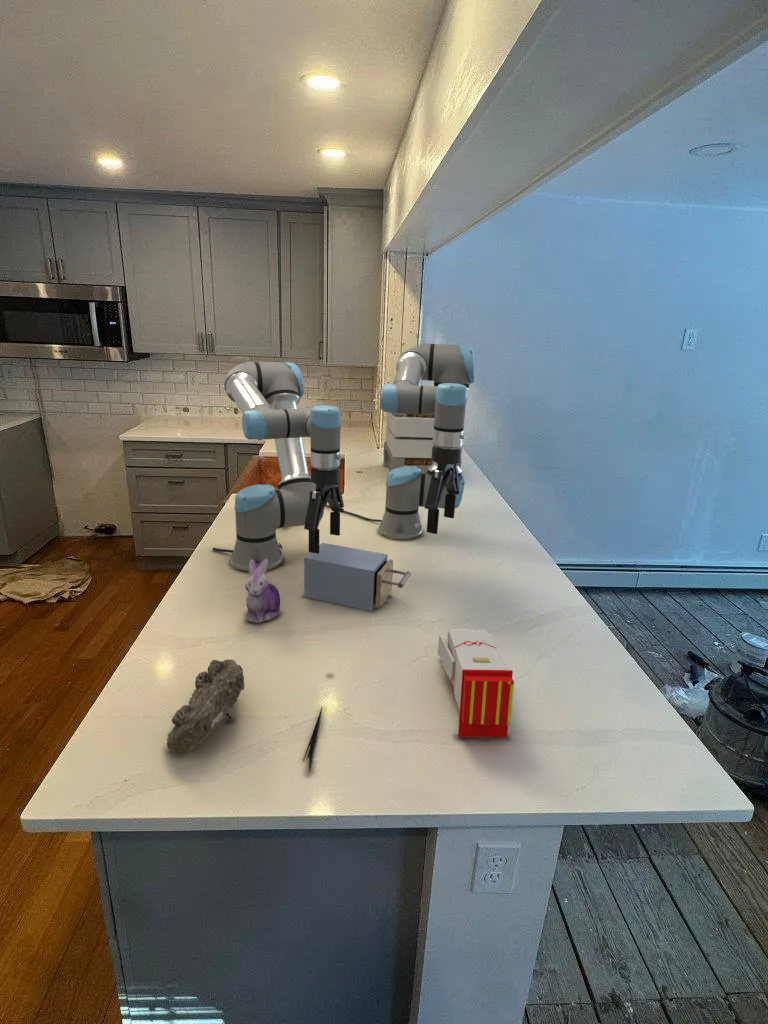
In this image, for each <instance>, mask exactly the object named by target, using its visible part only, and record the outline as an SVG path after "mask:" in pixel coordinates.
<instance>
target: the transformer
mask: <svg viewBox="0 0 768 1024" xmlns="http://www.w3.org/2000/svg"><path fill="white" fill-rule="evenodd" d="M385 414H386V415H385V423H386V428H385V438H384V442H383V466H384V467H388V468H389V472H390V471H391V470H393V469H396V468H399V467H405V466H406V467H417V466H418V467H429V466H431V465H432V463H433V461H432V459H431V457H432V447H433V446H434V445H433V443H432V441H433V429H434V420H435V416H434V415H420V414H399V413H396V414H393V413H389V412H385ZM464 422H465V419H464ZM464 431H465V430H463V433H464ZM463 442H464V440H463V441H462V444H463ZM460 448H461V449H462V450H463V445H462V446H461V447H460ZM462 461H463V460H462V457H461V461H460V463H458V467H459V468H460V469H461V470H462Z"/></svg>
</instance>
